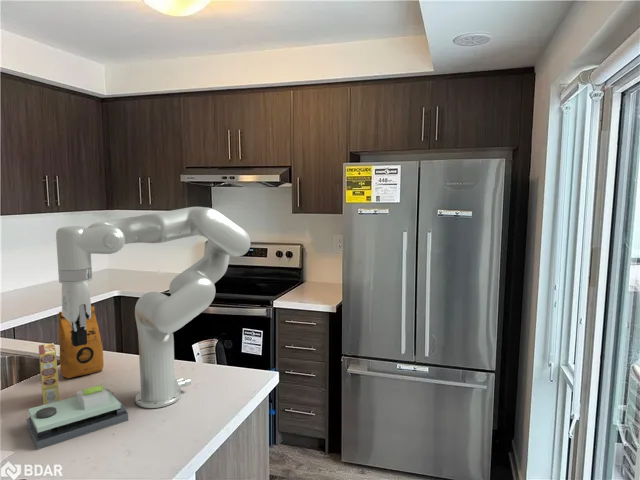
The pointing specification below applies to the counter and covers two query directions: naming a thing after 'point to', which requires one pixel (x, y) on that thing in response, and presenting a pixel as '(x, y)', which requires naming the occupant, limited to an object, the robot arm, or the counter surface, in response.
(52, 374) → the candy box
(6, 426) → the counter surface
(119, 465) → the counter surface
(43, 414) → the levelling plate
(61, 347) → the coffee package
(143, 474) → the counter surface
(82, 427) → the base
